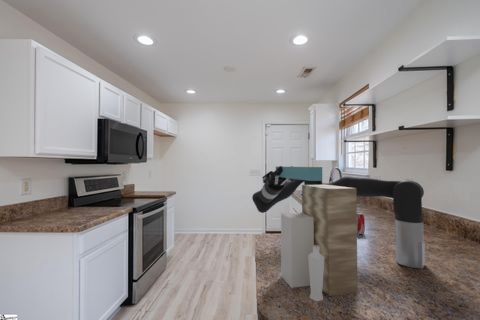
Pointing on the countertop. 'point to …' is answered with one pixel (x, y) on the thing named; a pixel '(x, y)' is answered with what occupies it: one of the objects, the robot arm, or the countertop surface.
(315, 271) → the perfume bottle
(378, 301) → the countertop surface
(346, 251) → the maple stand
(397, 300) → the countertop surface
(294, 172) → the teal bar
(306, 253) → the white block
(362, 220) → the soda can
